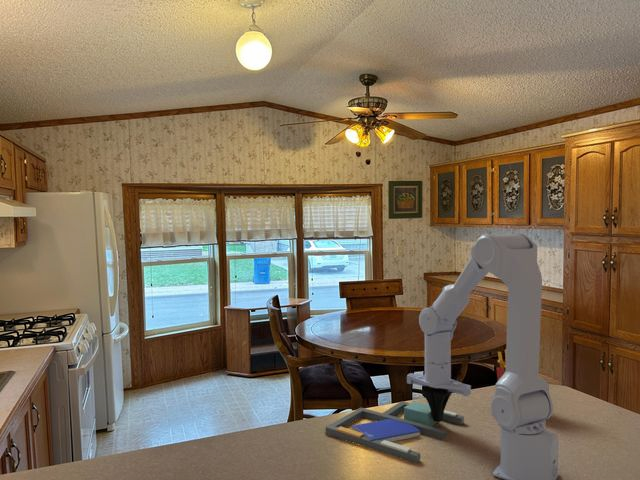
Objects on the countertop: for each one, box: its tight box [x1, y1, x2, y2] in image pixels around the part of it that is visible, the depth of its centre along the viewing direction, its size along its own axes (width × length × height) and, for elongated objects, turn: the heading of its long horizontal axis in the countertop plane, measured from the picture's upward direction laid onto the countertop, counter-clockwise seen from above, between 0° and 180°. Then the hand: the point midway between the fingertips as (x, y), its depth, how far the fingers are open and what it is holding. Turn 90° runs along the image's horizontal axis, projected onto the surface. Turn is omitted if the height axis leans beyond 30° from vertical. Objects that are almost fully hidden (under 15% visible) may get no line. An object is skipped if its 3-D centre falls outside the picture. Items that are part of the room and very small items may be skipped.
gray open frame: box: [325, 407, 448, 464], centre depth 104 cm, size 22×14×2 cm, turn 52°
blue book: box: [350, 419, 421, 442], centre depth 105 cm, size 2×8×12 cm
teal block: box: [403, 400, 437, 427], centre depth 111 cm, size 6×5×4 cm
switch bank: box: [382, 400, 465, 426], centre depth 111 cm, size 16×10×2 cm, turn 52°
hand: (437, 420), depth 108 cm, fingers closed
